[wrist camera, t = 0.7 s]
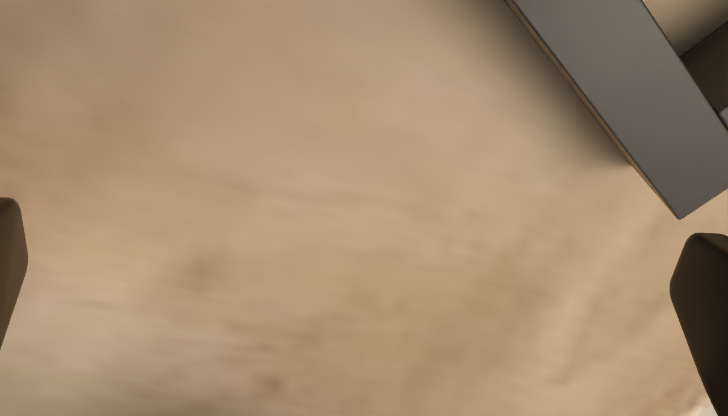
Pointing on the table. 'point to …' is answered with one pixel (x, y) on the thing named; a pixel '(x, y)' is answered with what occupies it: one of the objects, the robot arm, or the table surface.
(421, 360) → the table surface
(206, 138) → the table surface
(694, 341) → the robot arm
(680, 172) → the holder
